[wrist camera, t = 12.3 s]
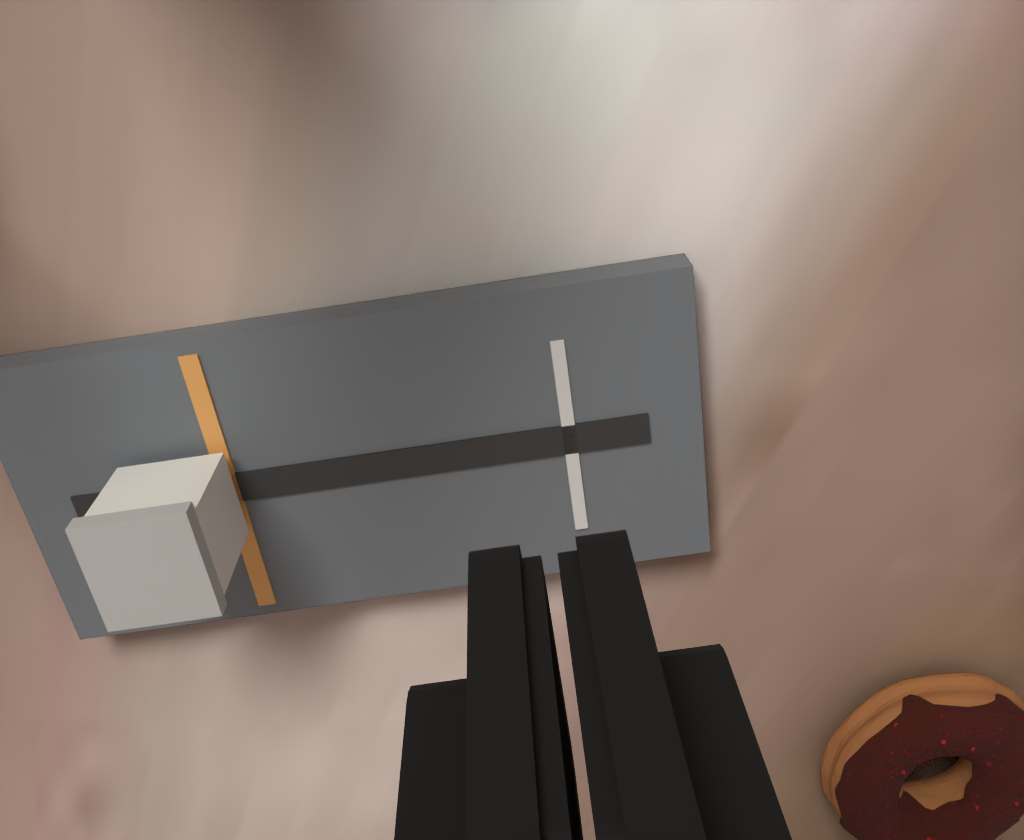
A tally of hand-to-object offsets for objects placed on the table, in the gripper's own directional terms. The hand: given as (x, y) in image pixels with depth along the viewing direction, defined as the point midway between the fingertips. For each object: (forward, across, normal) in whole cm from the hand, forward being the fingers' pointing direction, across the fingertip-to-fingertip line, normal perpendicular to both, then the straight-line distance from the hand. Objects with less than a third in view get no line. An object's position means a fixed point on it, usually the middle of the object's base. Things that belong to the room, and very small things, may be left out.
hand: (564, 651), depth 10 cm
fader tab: (+23, +14, +10) cm, 29 cm away
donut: (+26, -16, +30) cm, 42 cm away
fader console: (+25, +7, +10) cm, 28 cm away
